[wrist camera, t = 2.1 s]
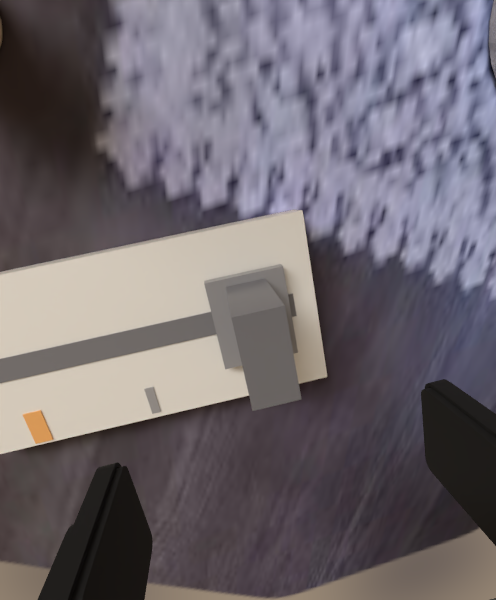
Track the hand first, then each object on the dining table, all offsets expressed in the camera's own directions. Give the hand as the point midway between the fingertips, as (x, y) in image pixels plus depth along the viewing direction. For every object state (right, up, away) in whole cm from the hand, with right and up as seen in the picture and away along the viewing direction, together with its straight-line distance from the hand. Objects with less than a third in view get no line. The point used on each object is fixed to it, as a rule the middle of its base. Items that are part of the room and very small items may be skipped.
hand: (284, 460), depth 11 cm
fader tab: (-1, +4, +12) cm, 13 cm away
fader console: (-9, +3, +15) cm, 17 cm away
